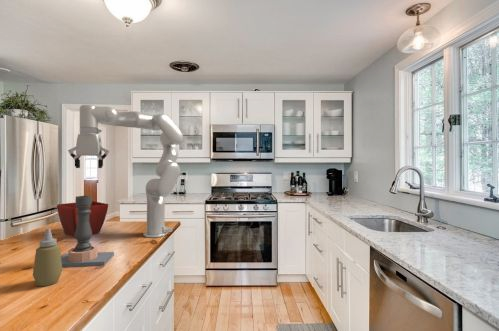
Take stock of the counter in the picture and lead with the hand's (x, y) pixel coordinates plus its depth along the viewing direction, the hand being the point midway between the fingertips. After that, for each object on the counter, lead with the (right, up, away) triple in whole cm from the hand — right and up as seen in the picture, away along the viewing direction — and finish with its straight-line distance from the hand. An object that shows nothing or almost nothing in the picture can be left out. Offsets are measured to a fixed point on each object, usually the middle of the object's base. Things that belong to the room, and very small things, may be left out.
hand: (89, 168), depth 130 cm
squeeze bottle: (+8, -38, -38) cm, 54 cm away
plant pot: (-17, -38, +24) cm, 48 cm away
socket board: (+8, -38, -18) cm, 43 cm away
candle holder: (+8, -37, -17) cm, 41 cm away
